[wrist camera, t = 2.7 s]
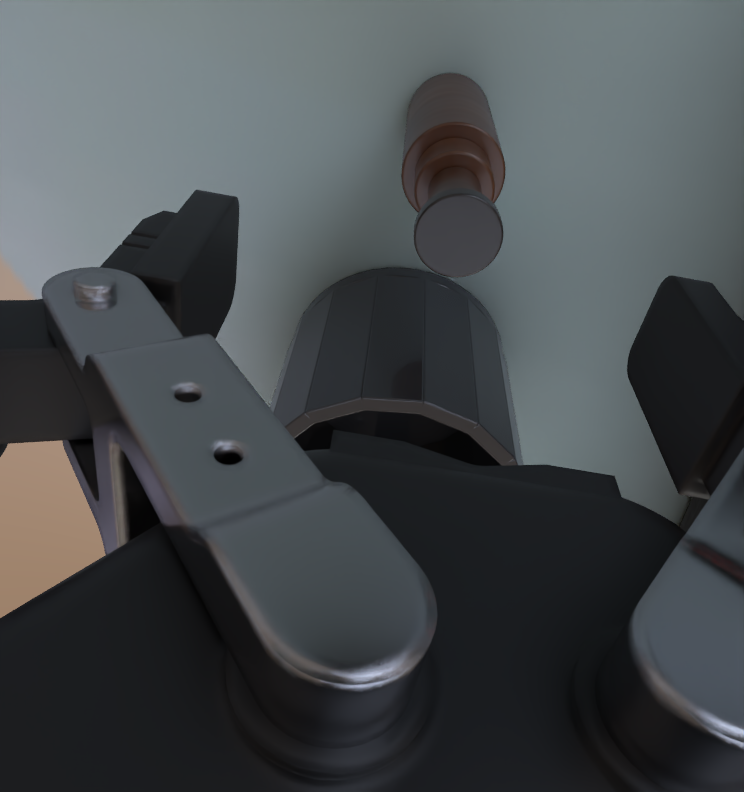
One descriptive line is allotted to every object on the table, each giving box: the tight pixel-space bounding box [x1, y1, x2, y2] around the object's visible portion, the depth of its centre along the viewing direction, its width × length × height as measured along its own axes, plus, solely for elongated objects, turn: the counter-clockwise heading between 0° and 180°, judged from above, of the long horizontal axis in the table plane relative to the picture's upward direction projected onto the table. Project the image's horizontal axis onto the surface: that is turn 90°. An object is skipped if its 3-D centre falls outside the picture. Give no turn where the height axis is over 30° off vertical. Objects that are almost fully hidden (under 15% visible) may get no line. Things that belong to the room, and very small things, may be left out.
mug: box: [270, 268, 524, 466], centre depth 26 cm, size 12×9×8 cm
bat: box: [401, 73, 505, 277], centre depth 19 cm, size 3×3×10 cm
